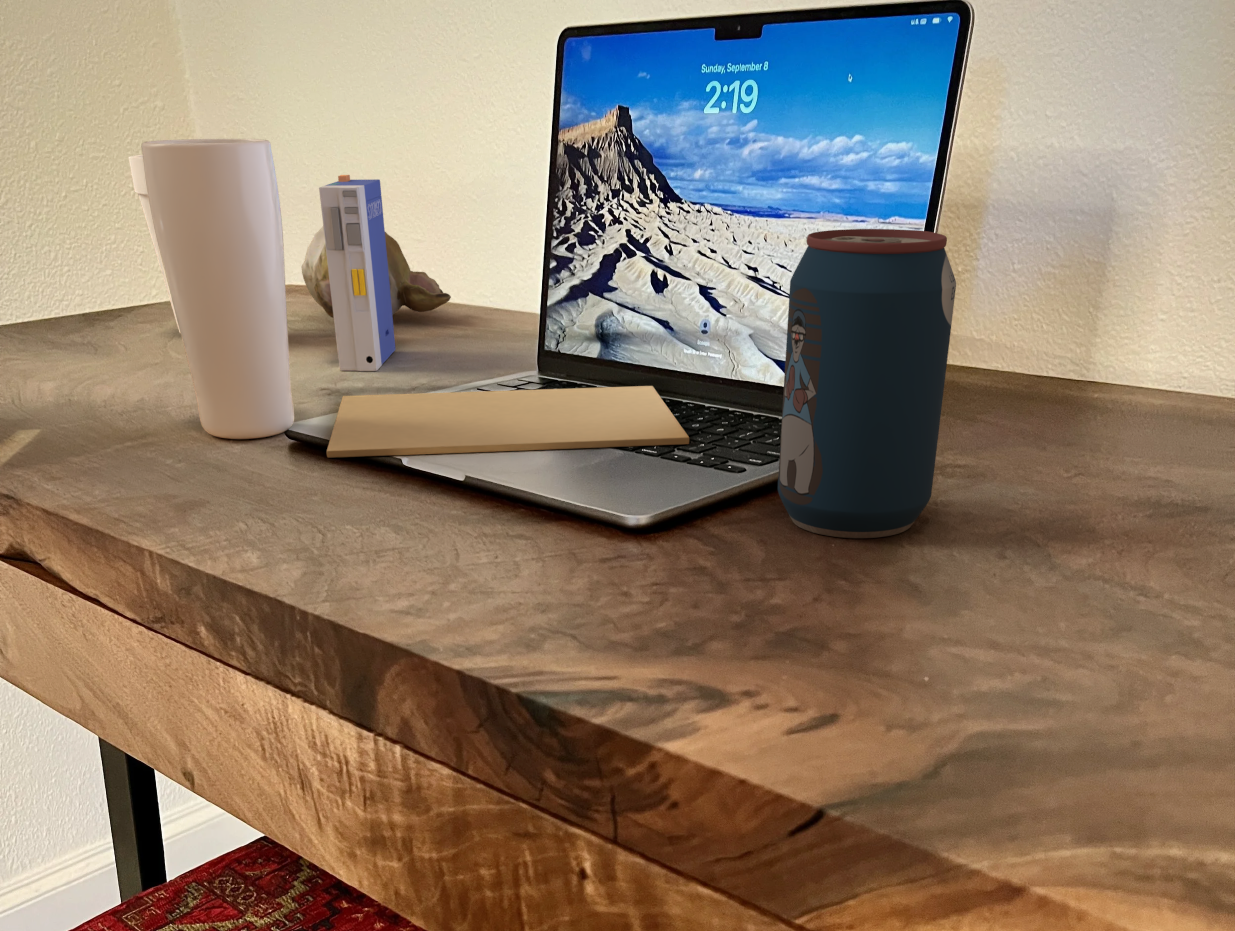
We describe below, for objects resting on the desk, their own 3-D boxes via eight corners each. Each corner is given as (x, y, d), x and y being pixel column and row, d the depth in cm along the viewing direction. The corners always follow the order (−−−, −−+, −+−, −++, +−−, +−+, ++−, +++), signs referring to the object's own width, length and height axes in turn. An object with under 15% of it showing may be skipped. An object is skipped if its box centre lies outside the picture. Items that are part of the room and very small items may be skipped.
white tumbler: (166, 440, 72) (111, 142, 65) (230, 414, 78) (187, 138, 70) (270, 448, 71) (227, 143, 63) (328, 421, 76) (295, 138, 69)
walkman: (359, 350, 96) (341, 173, 90) (396, 350, 96) (379, 173, 90) (337, 371, 89) (315, 181, 83) (376, 371, 89) (357, 181, 83)
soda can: (950, 513, 59) (987, 231, 53) (890, 552, 54) (922, 248, 48) (817, 490, 63) (837, 223, 57) (749, 526, 58) (762, 238, 52)
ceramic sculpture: (382, 195, 112) (453, 220, 101) (390, 299, 117) (459, 332, 106) (265, 203, 107) (327, 229, 97) (278, 310, 112) (339, 346, 102)
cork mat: (327, 457, 69) (326, 450, 69) (343, 402, 81) (342, 395, 80) (689, 444, 71) (689, 437, 71) (652, 391, 83) (652, 385, 83)
